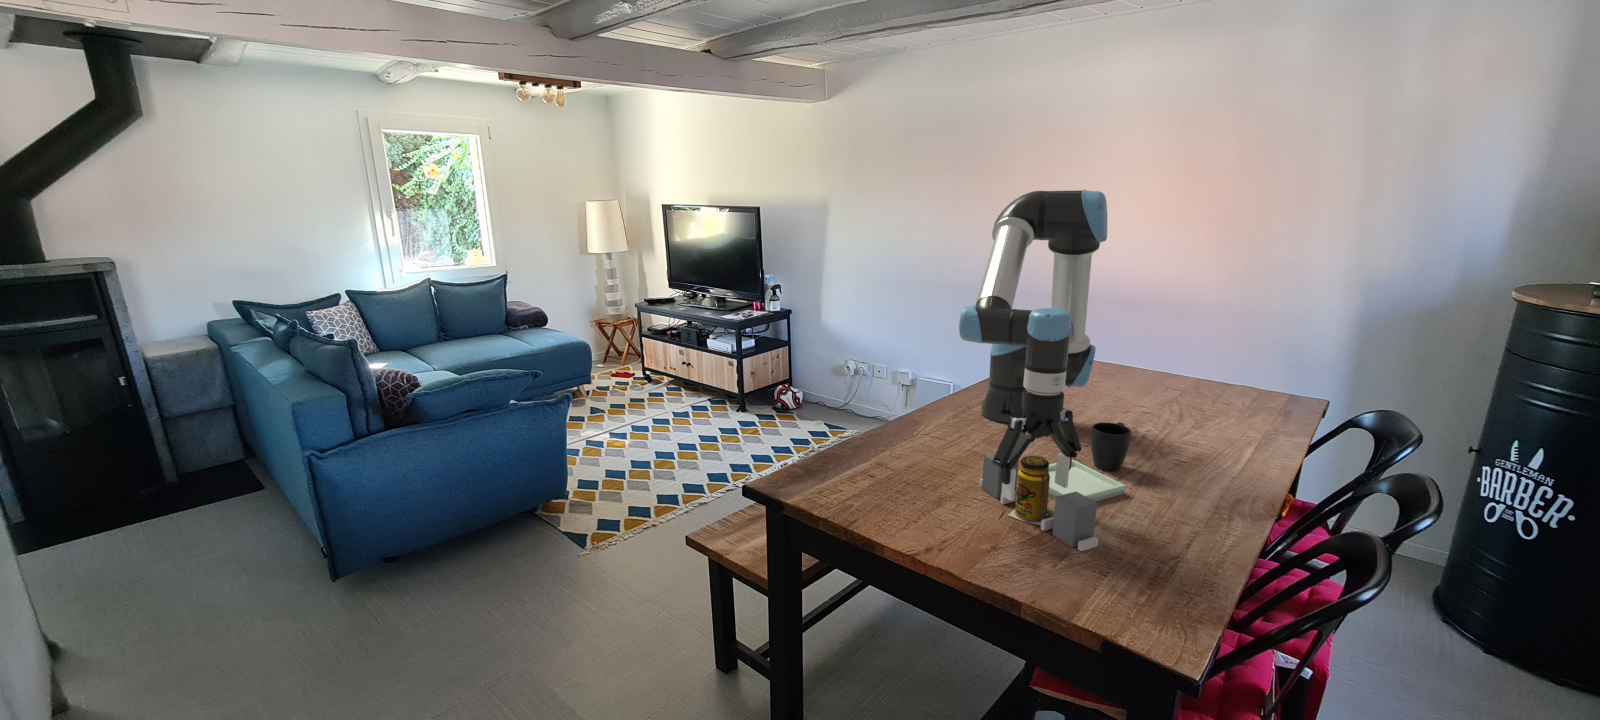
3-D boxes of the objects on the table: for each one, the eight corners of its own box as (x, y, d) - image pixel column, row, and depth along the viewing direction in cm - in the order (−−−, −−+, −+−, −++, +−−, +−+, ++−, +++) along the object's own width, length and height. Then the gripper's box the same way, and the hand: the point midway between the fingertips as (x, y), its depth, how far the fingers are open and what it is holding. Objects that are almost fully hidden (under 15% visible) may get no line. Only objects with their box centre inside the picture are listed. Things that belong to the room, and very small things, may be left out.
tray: (1020, 478, 148) (1020, 470, 148) (1071, 467, 154) (1072, 459, 153) (1070, 508, 135) (1071, 499, 135) (1124, 493, 141) (1125, 485, 140)
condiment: (1006, 516, 132) (1011, 461, 129) (1023, 500, 139) (1027, 447, 135) (1042, 527, 128) (1048, 471, 125) (1058, 511, 134) (1063, 456, 131)
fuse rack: (975, 486, 145) (977, 452, 143) (997, 481, 147) (999, 448, 145) (1076, 552, 119) (1081, 512, 117) (1101, 545, 121) (1106, 505, 119)
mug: (1137, 461, 157) (1142, 423, 154) (1119, 477, 148) (1123, 438, 146) (1101, 451, 162) (1105, 415, 160) (1082, 467, 154) (1086, 429, 151)
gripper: (1004, 404, 118) (996, 511, 124) (1107, 387, 128) (1096, 487, 133) (978, 393, 125) (971, 495, 130) (1078, 377, 134) (1068, 473, 140)
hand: (1034, 491), depth 132 cm, fingers open, 13 cm apart
